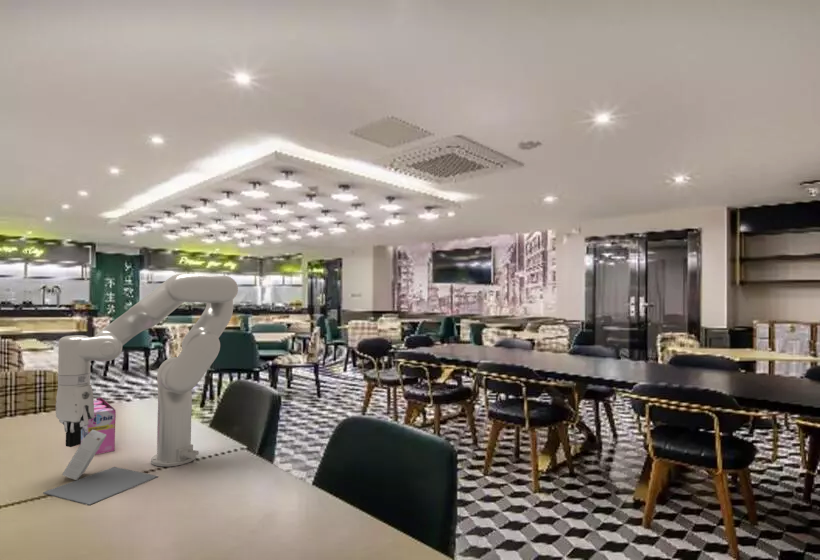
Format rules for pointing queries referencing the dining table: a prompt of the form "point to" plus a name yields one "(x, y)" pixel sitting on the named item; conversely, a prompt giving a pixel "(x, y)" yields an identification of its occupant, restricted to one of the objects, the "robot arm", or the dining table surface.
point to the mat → (100, 485)
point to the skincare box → (84, 455)
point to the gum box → (102, 425)
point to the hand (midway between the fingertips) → (73, 445)
